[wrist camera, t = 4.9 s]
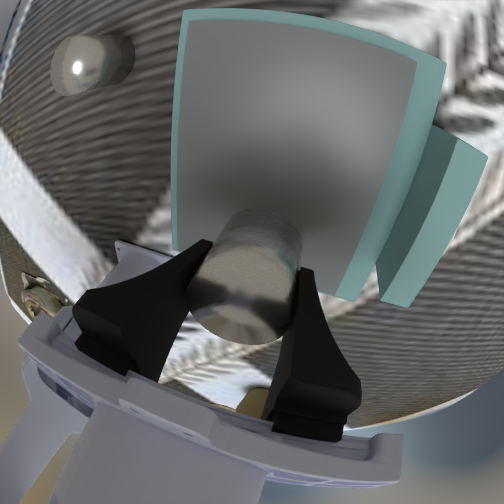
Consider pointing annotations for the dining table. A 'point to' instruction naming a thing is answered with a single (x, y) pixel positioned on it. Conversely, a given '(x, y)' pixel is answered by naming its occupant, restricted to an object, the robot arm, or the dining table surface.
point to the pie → (39, 299)
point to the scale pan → (287, 133)
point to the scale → (398, 174)
